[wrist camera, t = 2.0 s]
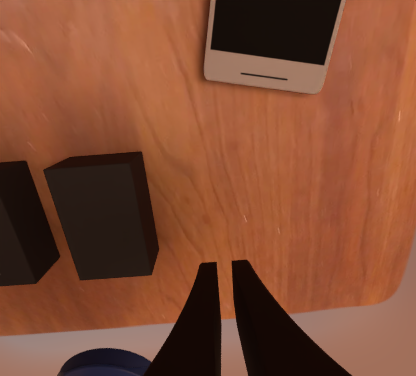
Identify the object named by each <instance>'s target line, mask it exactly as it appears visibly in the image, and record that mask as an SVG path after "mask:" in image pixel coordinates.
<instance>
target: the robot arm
mask: <svg viewBox="0 0 416 376" xmlns="http://www.w3.org/2000/svg"><path fill="white" fill-rule="evenodd" d="M232 278H233V298H234V307H235V315H236V322H237V328H238V332H239V336H240V341H241V345H242V350H243V355H244V359H245V363H246V367H247V372H248V376H352V375H351V374H349V373H348V372H347V371H346V370H345V369H344V368H342V367H341V366H340V365H339V364H338V363H337V362H335V361H334V360H333V359H332V358H331V357H330V356H329V355H327V354H326V353H325V352H324V351H323V350H322V349H321V348H320V347H319V346H318V345H317V344H316V343H315V342H314V341H313V340H312V339H311V338H310V337H309V336H307V334H306V333H305V332H304V331H303V330H302V329H301V328H300V327H299V326H298V325H297V324H296V323H295V322H294V321H293V320H292V319H291V318H290V316H289V315H288V314H287V313H286V312H285V311H284V309H283V308H282V307H281V306H280V305H279V304H278V302H277V301H276V300H275V299H274V297H273V296H272V295H271V293H270V292H269V291H268V290H267V288H266V287H265V286H264V284H263V283H262V281H261V280H260V279H259V277H258V276H257V274H256V273H255V271H254V269H253V268H252V266H251V264H250V263H249V261H247V260H236V261H232ZM143 376H221V314H220V301H219V288H218V275H217V262H209V263H201V264H200V265H199V269H198V273H197V276H196V279H195V282H194V285H193V287H192V290H191V292H190V295H189V297H188V299H187V301H186V304H185V306H184V308H183V310H182V312H181V314H180V316H179V318H178V320H177V322H176V324H175V325H174V327H173V329H172V331H171V333H170V335H169V336H168V338H167V339H166V341H165V343H164V344H163V346H162V347H161V349H160V351H159V352H158V354H157V355H156V357H155V358H154V360H153V361H152V363H151V364H150V366H149V367H148V369H147V370H146V372H145V373H144V374H143Z"/></svg>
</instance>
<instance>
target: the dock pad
mask: <svg viewBox="0 0 416 376" xmlns="http://www.w3.org/2000/svg"><path fill="white" fill-rule="evenodd" d="M59 258H60V255H59V252H58V250H57V247H56V244H55V241H54V238H53V236H52V233H51V230H50V227H49V224H48V222H47V219H46V216H45V213H44V210H43V207H42V205H41V202H40V199H39V196H38V193H37V191H36V188H35V185H34V182H33V179H32V177H31V174H30V171H29V168H28V165H27V163H26V161H16V162H3V163H0V286H12V285H25V284H36V283H37V282H38V281H39V280H40V279H41V278H42V277H43V276H44V275H45V273H46V272H47V271H48V270H49V269H50V268H51V267H52V266H53V264H54V263H55V262H56V261H57V260H58V259H59Z"/></svg>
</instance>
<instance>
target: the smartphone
mask: <svg viewBox="0 0 416 376" xmlns="http://www.w3.org/2000/svg"><path fill="white" fill-rule="evenodd" d="M345 2H346V0H211V2H210V12H209V21H208V31H207V41H206V50H205V60H204V76H205V78H206V80H209V81H216V82H224V83H231V84H239V85H246V86H253V87H261V88H268V89H276V90H283V91H291V92H298V93H306V94H317V93H318V92H319V91H320V90H321V88H322V86H323V83H324V80H325V76H326V73H327V69H328V65H329V61H330V58H331V54H332V50H333V47H334V43H335V39H336V35H337V32H338V28H339V24H340V20H341V17H342V13H343V9H344V6H345Z"/></svg>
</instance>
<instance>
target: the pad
mask: <svg viewBox="0 0 416 376" xmlns="http://www.w3.org/2000/svg"><path fill="white" fill-rule="evenodd" d="M43 171H44V174H45V177H46V180H47V183H48V186H49V189H50V192H51V195H52V198H53V201H54V204H55V207H56V210H57V213H58V216H59V219H60V222H61V225H62V228H63V231H64V234H65V237H66V240H67V243H68V246H69V249H70V252H71V255H72V258H73V261H74V264H75V267H76V270H77V273H78V276H79V279H80V280H93V279H107V278H121V277H134V276H148V275H152V272H153V269H154V265H155V262H156V258H157V255H158V252H159V246H158V240H157V235H156V229H155V223H154V218H153V212H152V206H151V201H150V195H149V189H148V184H147V178H146V172H145V167H144V161H143V155H142V152H129V153H117V154H104V155H92V156H79V157H69V158H67V159H65V160H63V161H61V162H59V163H57V164H54V165H52V166H50V167H48V168H46V169H44V170H43Z"/></svg>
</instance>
